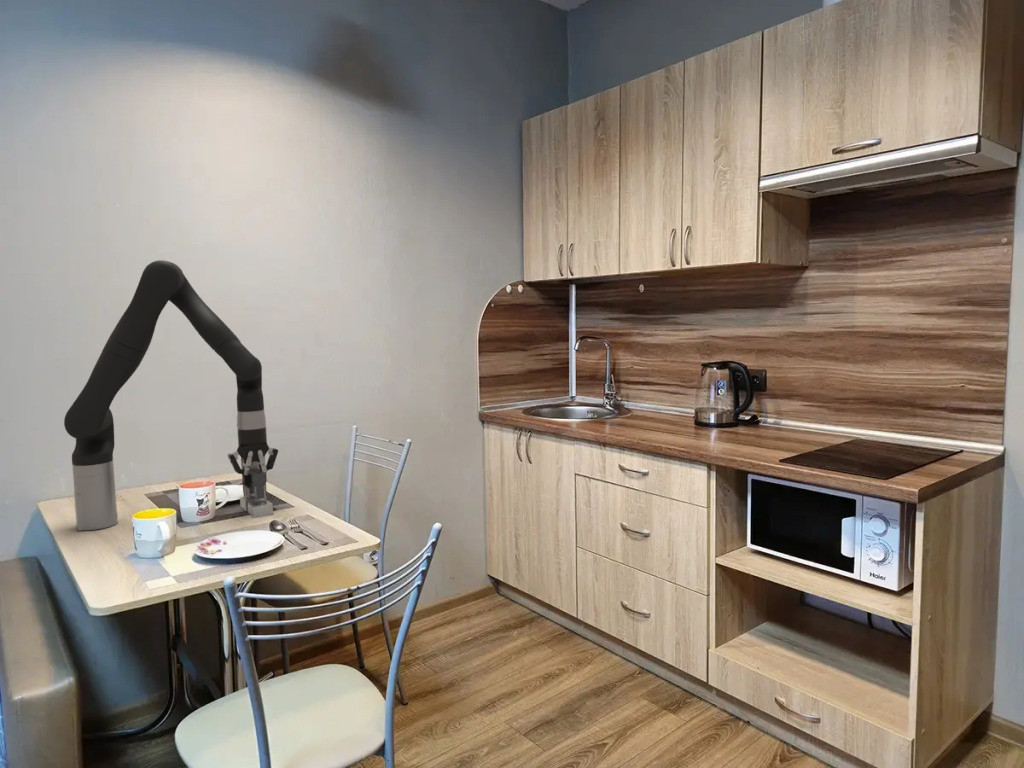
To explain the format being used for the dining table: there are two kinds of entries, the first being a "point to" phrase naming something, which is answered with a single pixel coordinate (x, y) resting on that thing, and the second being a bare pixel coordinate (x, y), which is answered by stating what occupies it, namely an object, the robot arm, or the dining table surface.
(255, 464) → the coffee box
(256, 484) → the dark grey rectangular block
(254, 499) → the grey stone base block
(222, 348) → the robot arm
